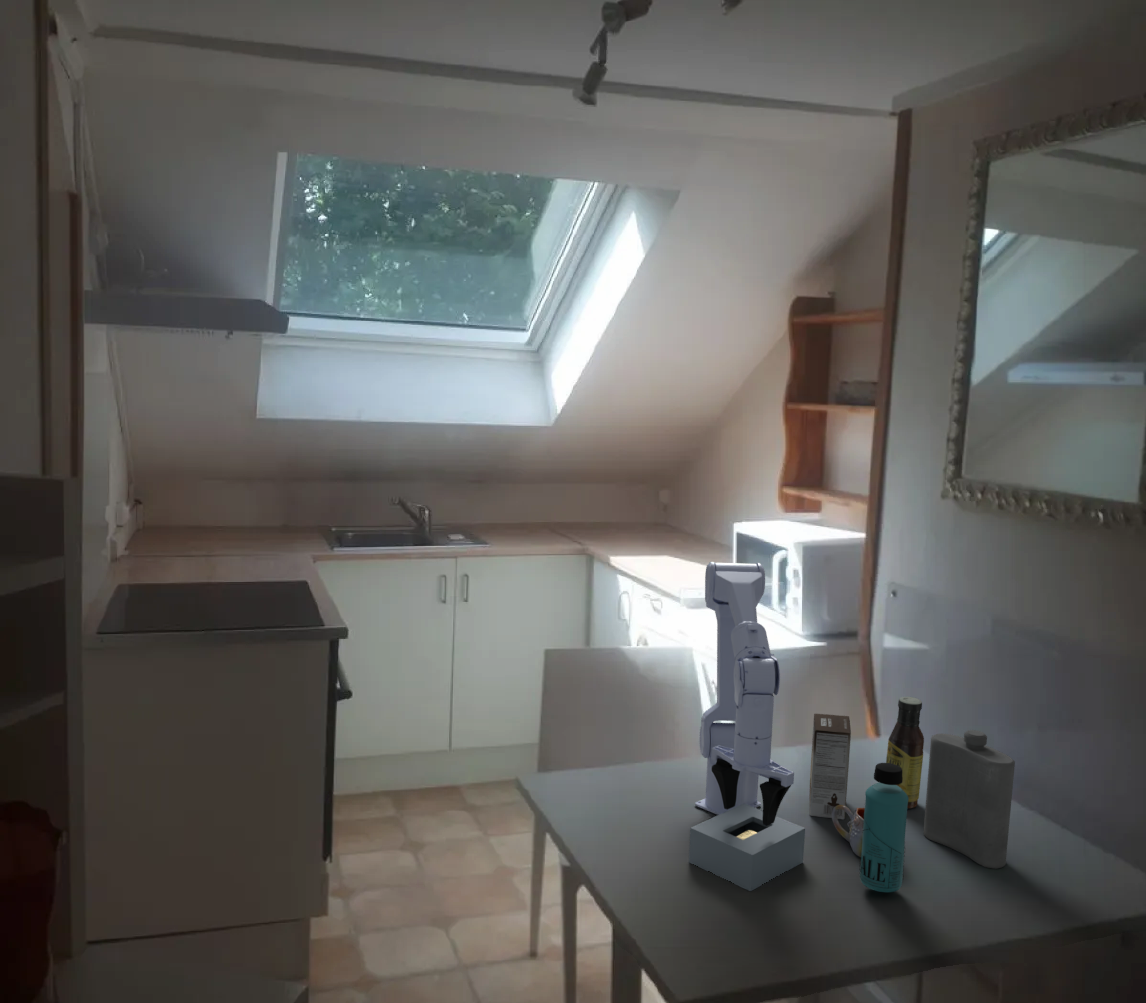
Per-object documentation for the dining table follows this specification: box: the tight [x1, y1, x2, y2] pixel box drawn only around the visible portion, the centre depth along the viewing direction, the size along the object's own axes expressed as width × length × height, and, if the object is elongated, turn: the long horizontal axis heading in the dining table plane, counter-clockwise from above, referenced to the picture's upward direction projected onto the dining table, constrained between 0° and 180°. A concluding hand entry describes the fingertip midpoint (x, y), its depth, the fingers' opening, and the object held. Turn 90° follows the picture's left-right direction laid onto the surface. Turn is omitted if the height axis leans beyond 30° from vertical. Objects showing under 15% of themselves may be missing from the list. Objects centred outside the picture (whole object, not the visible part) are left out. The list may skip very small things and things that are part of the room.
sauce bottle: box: [885, 696, 925, 810], centre depth 188 cm, size 7×6×20 cm
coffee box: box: [808, 713, 852, 820], centre depth 186 cm, size 9×6×16 cm
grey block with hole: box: [688, 804, 806, 892], centre depth 165 cm, size 14×12×6 cm
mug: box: [831, 805, 865, 858], centre depth 172 cm, size 12×7×7 cm, turn 31°
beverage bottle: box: [858, 762, 909, 893], centre depth 156 cm, size 6×7×20 cm
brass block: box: [736, 830, 757, 840], centre depth 165 cm, size 4×2×4 cm, turn 136°
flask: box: [923, 729, 1016, 870], centre depth 171 cm, size 15×6×20 cm, turn 31°
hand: (748, 815), depth 165 cm, fingers open, 7 cm apart
